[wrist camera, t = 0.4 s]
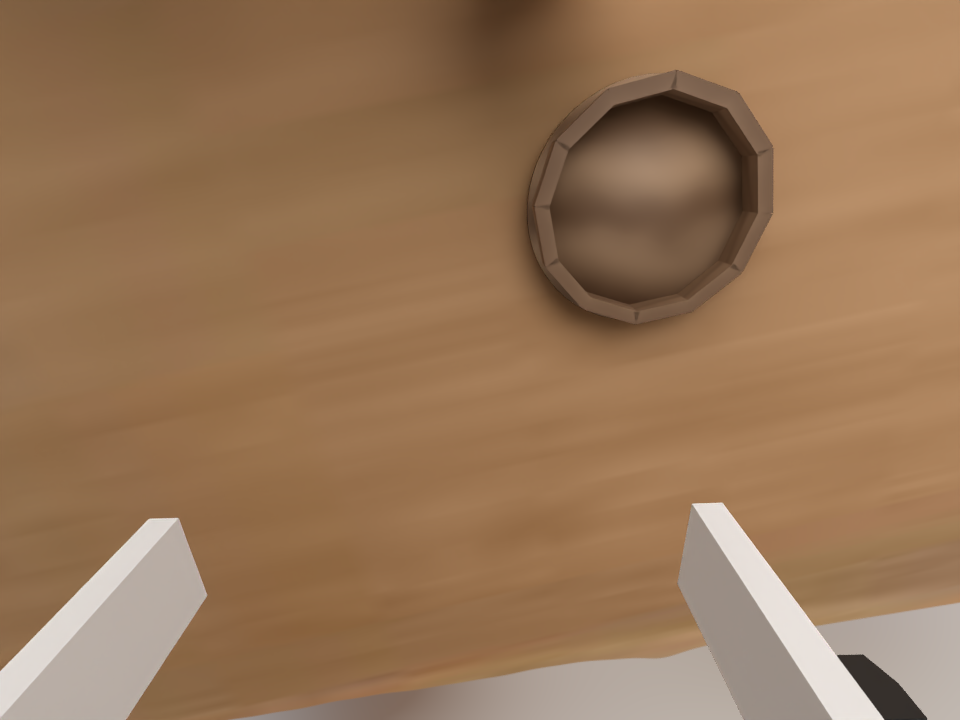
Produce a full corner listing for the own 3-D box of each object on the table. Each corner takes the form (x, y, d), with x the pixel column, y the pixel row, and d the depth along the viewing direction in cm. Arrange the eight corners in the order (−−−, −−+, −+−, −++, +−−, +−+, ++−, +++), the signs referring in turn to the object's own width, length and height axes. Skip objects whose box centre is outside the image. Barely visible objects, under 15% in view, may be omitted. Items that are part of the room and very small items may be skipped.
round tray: (505, 112, 31) (507, 106, 28) (756, 44, 29) (782, 31, 27) (548, 337, 37) (553, 348, 34) (757, 290, 36) (779, 299, 33)
